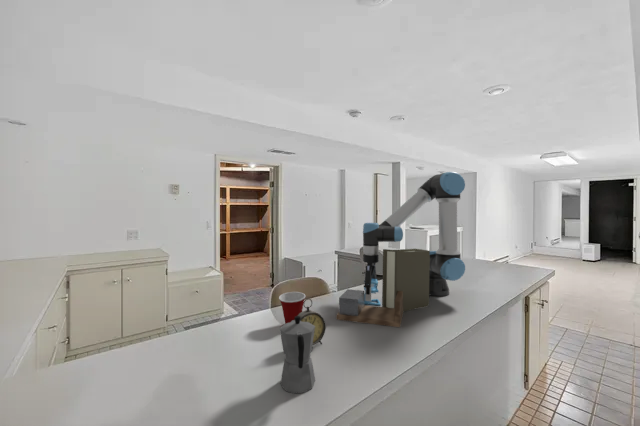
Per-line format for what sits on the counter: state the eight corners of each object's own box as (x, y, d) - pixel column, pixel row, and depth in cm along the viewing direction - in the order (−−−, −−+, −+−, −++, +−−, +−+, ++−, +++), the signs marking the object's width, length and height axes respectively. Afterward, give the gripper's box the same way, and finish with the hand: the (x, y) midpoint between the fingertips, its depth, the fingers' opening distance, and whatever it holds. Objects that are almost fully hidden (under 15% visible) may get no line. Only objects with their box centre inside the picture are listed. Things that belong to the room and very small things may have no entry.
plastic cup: (273, 328, 116) (273, 297, 116) (286, 318, 126) (286, 290, 126) (298, 332, 112) (298, 300, 112) (310, 322, 122) (310, 293, 122)
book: (415, 302, 150) (416, 247, 150) (430, 308, 142) (430, 249, 142) (382, 308, 140) (383, 249, 140) (396, 314, 132) (397, 251, 132)
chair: (361, 300, 151) (361, 277, 151) (378, 300, 150) (378, 277, 150) (363, 305, 143) (363, 280, 143) (380, 305, 143) (380, 280, 143)
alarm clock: (296, 353, 96) (296, 303, 96) (290, 346, 101) (290, 298, 101) (326, 345, 101) (326, 298, 101) (319, 339, 106) (318, 294, 106)
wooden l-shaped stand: (403, 313, 132) (402, 291, 131) (400, 327, 116) (399, 301, 116) (346, 307, 140) (345, 286, 140) (336, 319, 125) (336, 295, 125)
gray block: (364, 306, 136) (364, 290, 136) (357, 316, 123) (357, 299, 123) (347, 304, 139) (347, 289, 139) (339, 314, 126) (339, 297, 126)
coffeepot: (279, 372, 85) (278, 309, 85) (311, 368, 87) (311, 307, 86) (282, 407, 70) (281, 330, 70) (321, 402, 71) (320, 327, 71)
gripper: (367, 250, 160) (367, 289, 160) (357, 257, 136) (357, 303, 136) (382, 251, 157) (382, 291, 157) (374, 258, 134) (374, 305, 134)
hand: (370, 297), depth 147 cm, fingers open, 13 cm apart
